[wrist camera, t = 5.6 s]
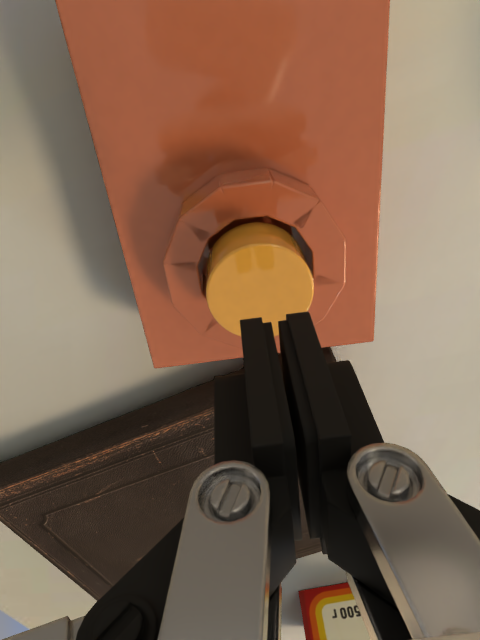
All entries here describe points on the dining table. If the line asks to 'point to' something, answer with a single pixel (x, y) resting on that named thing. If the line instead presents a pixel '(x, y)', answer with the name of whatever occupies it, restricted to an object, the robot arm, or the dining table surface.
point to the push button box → (236, 149)
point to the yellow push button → (257, 276)
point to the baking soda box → (332, 614)
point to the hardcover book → (116, 488)
